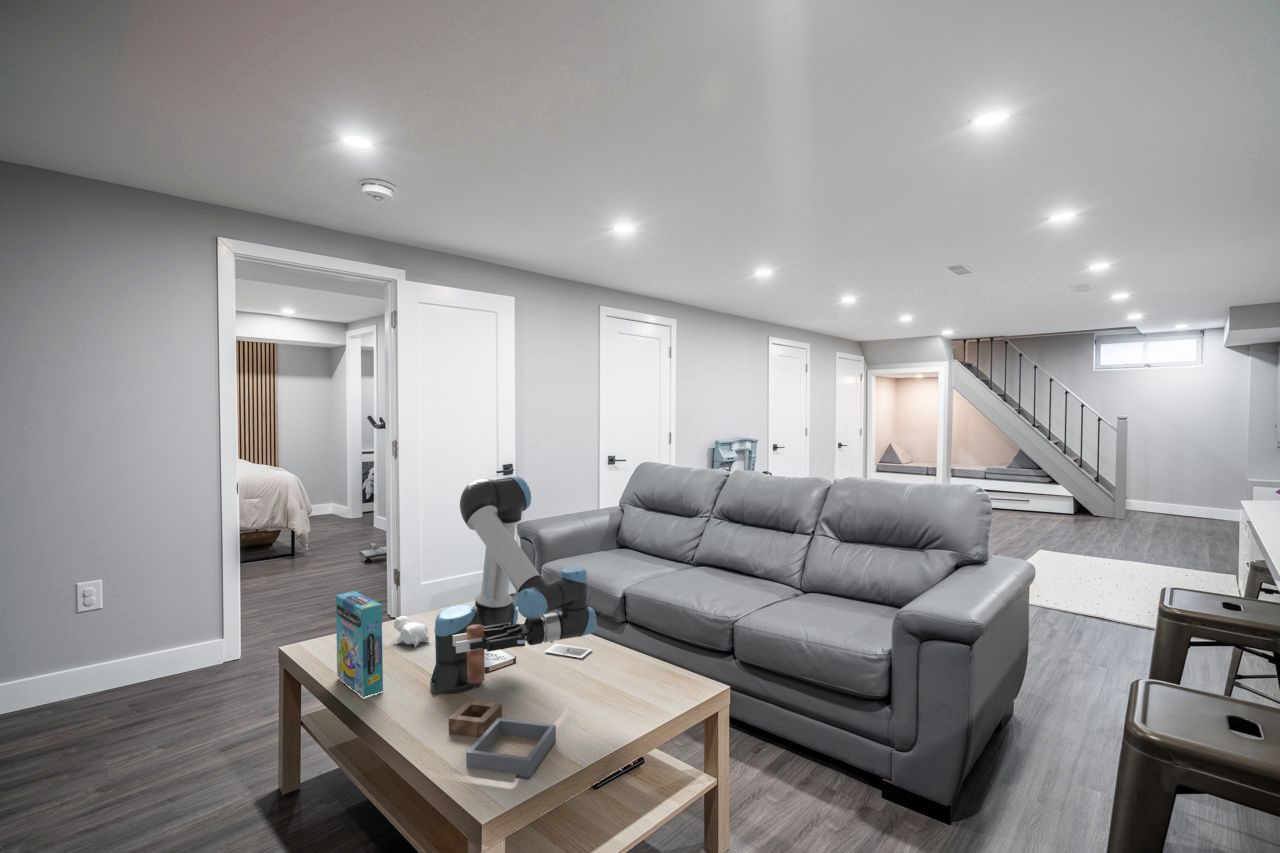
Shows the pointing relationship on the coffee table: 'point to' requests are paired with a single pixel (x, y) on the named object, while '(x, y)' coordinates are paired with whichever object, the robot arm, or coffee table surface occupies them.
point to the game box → (359, 643)
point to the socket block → (474, 718)
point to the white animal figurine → (411, 631)
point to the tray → (512, 763)
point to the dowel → (475, 656)
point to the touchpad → (568, 650)
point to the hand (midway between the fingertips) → (454, 644)
